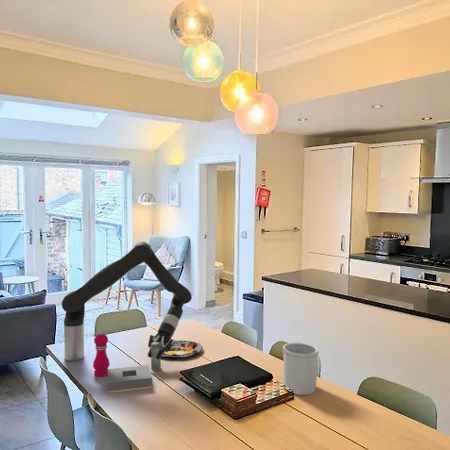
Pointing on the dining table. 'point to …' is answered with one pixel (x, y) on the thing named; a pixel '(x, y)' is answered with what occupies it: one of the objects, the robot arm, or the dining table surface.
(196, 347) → the food plate
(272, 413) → the dining table surface
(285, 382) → the utensil holder
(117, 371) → the pin block
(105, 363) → the pepper mill
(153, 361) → the sage pin
